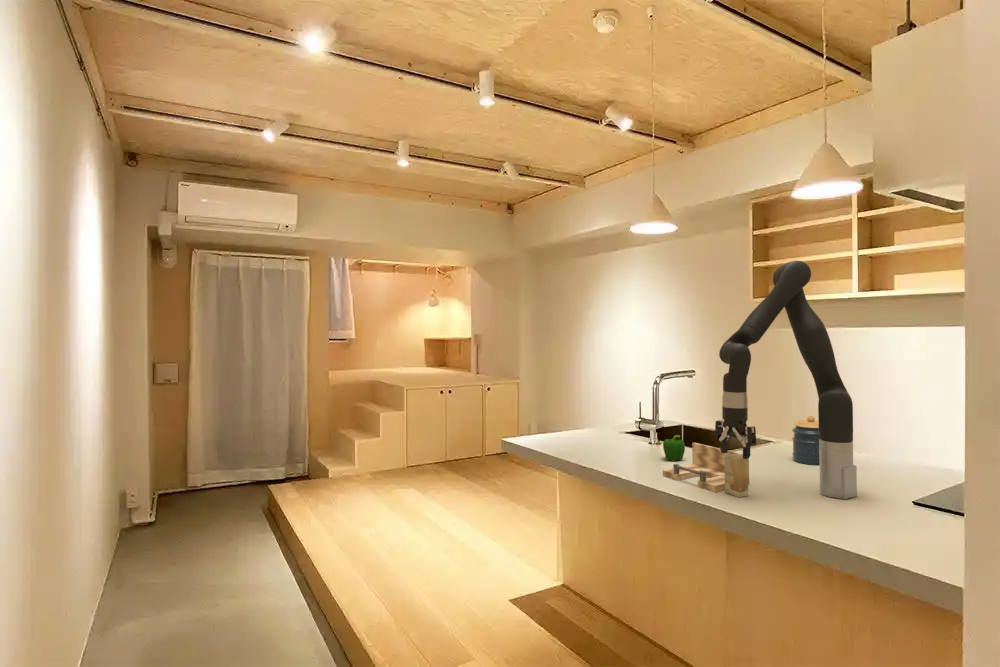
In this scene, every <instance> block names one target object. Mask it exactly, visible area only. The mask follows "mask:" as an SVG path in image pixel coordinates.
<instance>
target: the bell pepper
mask: <svg viewBox="0 0 1000 667" xmlns="http://www.w3.org/2000/svg"><path fill="white" fill-rule="evenodd" d="M676 438H678V439H676ZM679 438H681V435H679V434H678V435H677V434H675V435H674V436H673V437H672V438H671V439H669V438H665V440H664V441H663V443H662V448H663V452H664V456H665V459H666V460H667V461H671V462H672V461H673V462H674V461H681V460H682V459H683V458H684V455H685V451H686V448H685V447H686V446H685V445H686V444H685V441H684V440H683V439H679Z"/></svg>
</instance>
